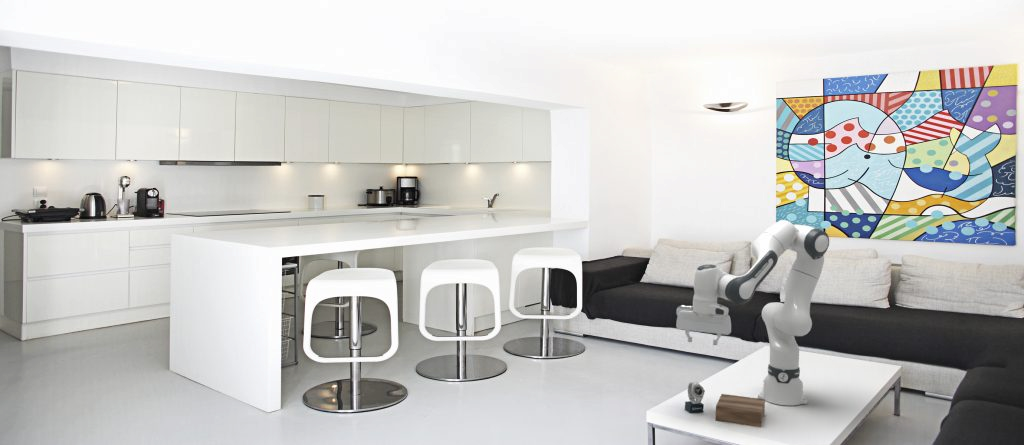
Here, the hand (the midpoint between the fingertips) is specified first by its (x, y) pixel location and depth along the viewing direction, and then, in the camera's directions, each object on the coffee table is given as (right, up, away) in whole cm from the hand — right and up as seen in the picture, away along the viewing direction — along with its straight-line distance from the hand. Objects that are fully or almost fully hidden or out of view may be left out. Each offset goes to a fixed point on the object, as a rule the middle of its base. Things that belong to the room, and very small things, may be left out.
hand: (702, 343), depth 276 cm
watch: (-2, -27, +3) cm, 27 cm away
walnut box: (+13, -28, -3) cm, 31 cm away
